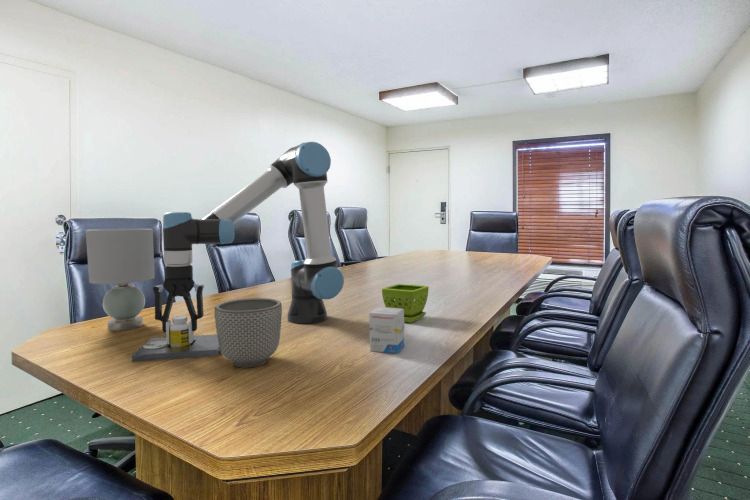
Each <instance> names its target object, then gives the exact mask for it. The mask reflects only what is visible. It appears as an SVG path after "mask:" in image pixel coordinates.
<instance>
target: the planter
mask: <svg viewBox="0 0 750 500" xmlns="http://www.w3.org/2000/svg"><path fill="white" fill-rule="evenodd" d="M282 311H283V307H282V302H281V301H280V300H278V299H275V298H269V297H267V298H265V297H264V298H263V297H250V298H249V297H248V298H241V299H240V298H239V299H232V300H226V301H223V302H220V303H218V304H216V305H215V306H214V321H215V330H216V334H217V338H218V343H219V347H220V353H221V355H222V356H223V357H224V358H226V359H227V360H229V361H231V362H232V363H233V365H234V366H236V367H238V368H245V369H246V368H248V369H249V368H254V367H258V366H261V365H264V364H265V363H266V362H267V361H268V359H269V358H270V357H271V356H272V355H273V354H275V352H276V351H277V349H278V347H279V344H280V340H281V339H280V338H281V330H282V318H283V317H282V314H283V313H282Z"/></svg>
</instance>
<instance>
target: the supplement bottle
mask: <svg viewBox="0 0 750 500" xmlns="http://www.w3.org/2000/svg"><path fill="white" fill-rule="evenodd" d="M188 346H191V343H189V323H188V316H187V315H178V316H174V317H172V318H171V327H170V347H171V348H173V347H188Z"/></svg>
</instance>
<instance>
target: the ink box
mask: <svg viewBox="0 0 750 500" xmlns="http://www.w3.org/2000/svg"><path fill="white" fill-rule="evenodd" d="M368 315H369V316H368V317H369V318H368V320H369V351H370V352H379V353H387V354H396V355H398V354H399V352H400V351H401V350H403V348H404V346H405V322H404V309H400V308H388V307H385V306H378V307H376V308H374V309H373V310H372V311H370V312H369V313H368Z"/></svg>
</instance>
